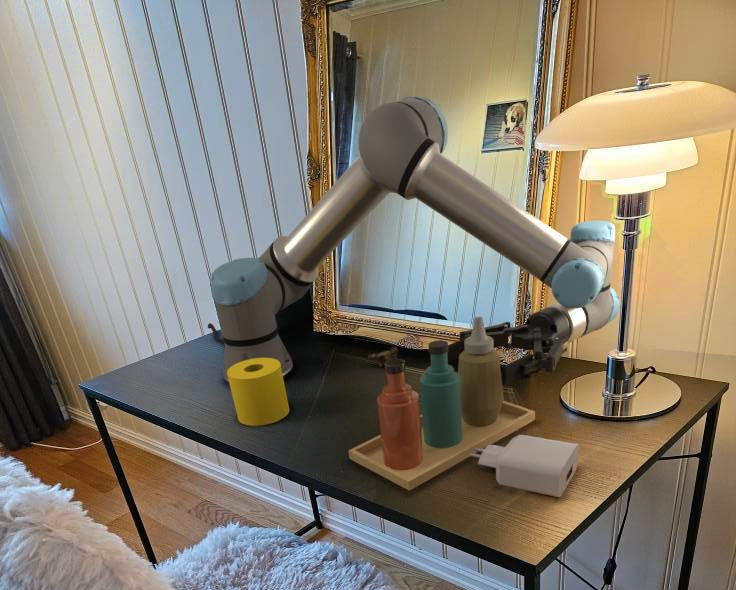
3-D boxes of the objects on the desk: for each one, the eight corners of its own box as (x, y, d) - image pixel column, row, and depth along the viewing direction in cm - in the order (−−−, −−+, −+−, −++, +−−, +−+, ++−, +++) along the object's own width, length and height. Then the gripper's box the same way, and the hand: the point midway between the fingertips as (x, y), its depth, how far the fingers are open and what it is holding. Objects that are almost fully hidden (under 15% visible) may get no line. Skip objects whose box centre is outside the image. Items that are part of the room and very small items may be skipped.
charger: (484, 451, 105) (577, 468, 98) (460, 480, 99) (558, 500, 92) (484, 425, 102) (580, 441, 95) (459, 453, 96) (560, 472, 89)
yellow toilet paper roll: (268, 398, 132) (259, 354, 127) (299, 410, 126) (291, 364, 120) (228, 417, 127) (216, 371, 121) (258, 430, 120) (247, 383, 115)
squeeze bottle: (503, 430, 109) (503, 325, 99) (454, 430, 111) (450, 327, 101) (504, 408, 116) (504, 308, 106) (458, 409, 117) (455, 310, 107)
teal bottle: (416, 440, 109) (408, 345, 100) (443, 426, 113) (438, 333, 103) (443, 452, 105) (438, 354, 96) (470, 437, 108) (468, 341, 99)
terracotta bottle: (375, 461, 105) (364, 364, 96) (404, 446, 108) (396, 351, 99) (401, 474, 101) (392, 374, 92) (431, 458, 104) (425, 360, 95)
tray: (349, 461, 107) (348, 450, 106) (471, 399, 121) (471, 389, 120) (409, 493, 97) (408, 481, 96) (535, 422, 111) (535, 411, 110)
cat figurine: (398, 367, 137) (393, 349, 135) (367, 371, 141) (362, 353, 140) (404, 362, 139) (399, 344, 137) (373, 366, 143) (368, 348, 141)
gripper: (613, 362, 110) (532, 406, 100) (500, 333, 127) (421, 369, 117) (617, 319, 106) (534, 360, 96) (500, 295, 123) (418, 328, 113)
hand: (471, 365), depth 107 cm, fingers open, 13 cm apart
